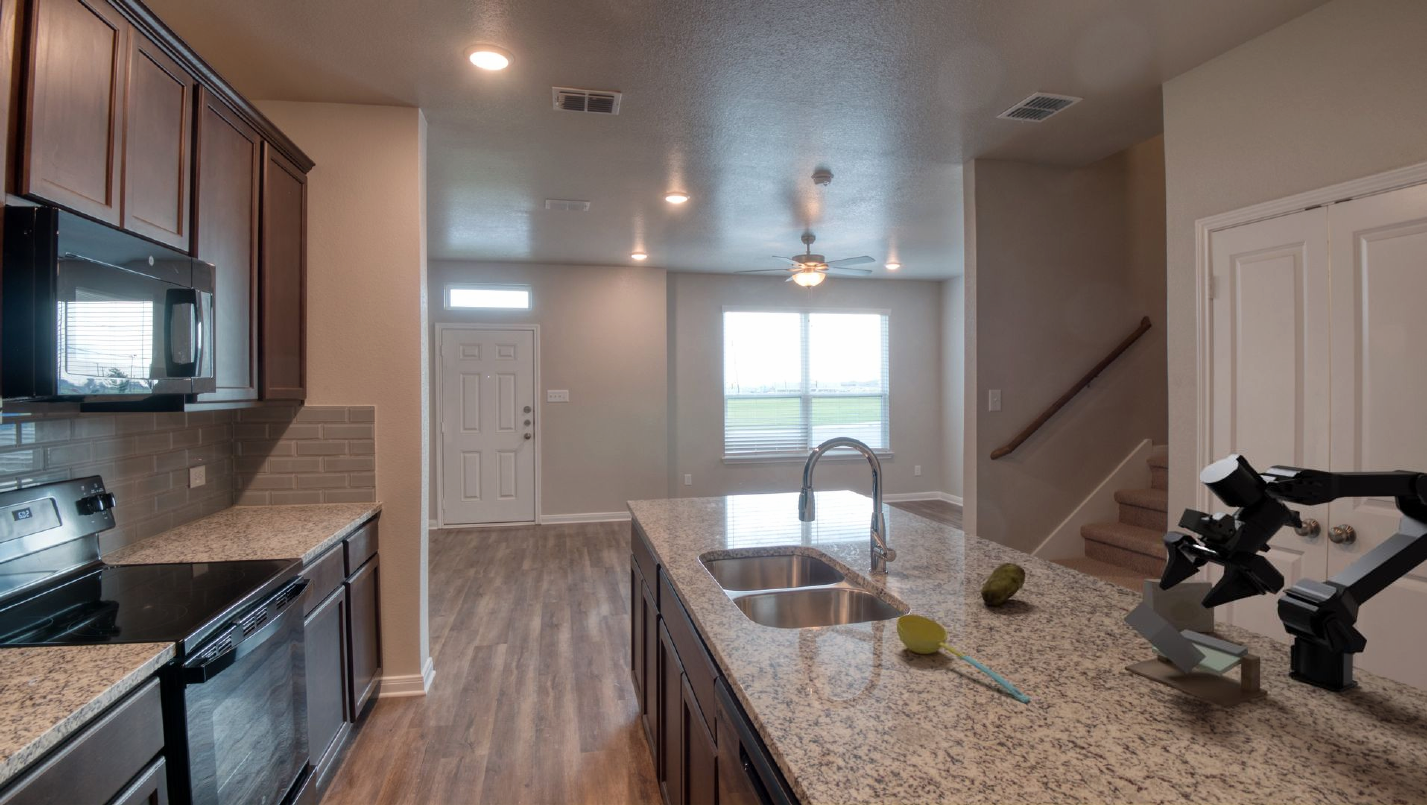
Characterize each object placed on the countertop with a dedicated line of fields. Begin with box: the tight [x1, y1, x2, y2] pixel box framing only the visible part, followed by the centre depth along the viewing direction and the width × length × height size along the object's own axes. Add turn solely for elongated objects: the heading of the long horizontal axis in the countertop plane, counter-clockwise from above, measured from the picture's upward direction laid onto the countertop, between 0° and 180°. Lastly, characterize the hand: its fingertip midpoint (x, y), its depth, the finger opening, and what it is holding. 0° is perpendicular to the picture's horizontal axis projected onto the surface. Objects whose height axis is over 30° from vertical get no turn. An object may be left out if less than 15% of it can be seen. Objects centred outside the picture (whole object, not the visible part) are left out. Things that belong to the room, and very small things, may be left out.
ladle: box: [896, 614, 1031, 704], centre depth 110 cm, size 9×26×6 cm, turn 26°
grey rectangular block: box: [1122, 601, 1206, 674], centre depth 102 cm, size 4×5×12 cm
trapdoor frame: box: [1124, 653, 1268, 709], centre depth 105 cm, size 15×11×6 cm
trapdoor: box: [1151, 630, 1249, 676], centre depth 106 cm, size 10×9×2 cm
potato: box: [980, 562, 1026, 606], centre depth 145 cm, size 8×13×8 cm, turn 112°
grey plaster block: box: [1141, 578, 1215, 633], centre depth 128 cm, size 12×4×10 cm, turn 89°
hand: (1181, 597), depth 105 cm, fingers open, 9 cm apart
